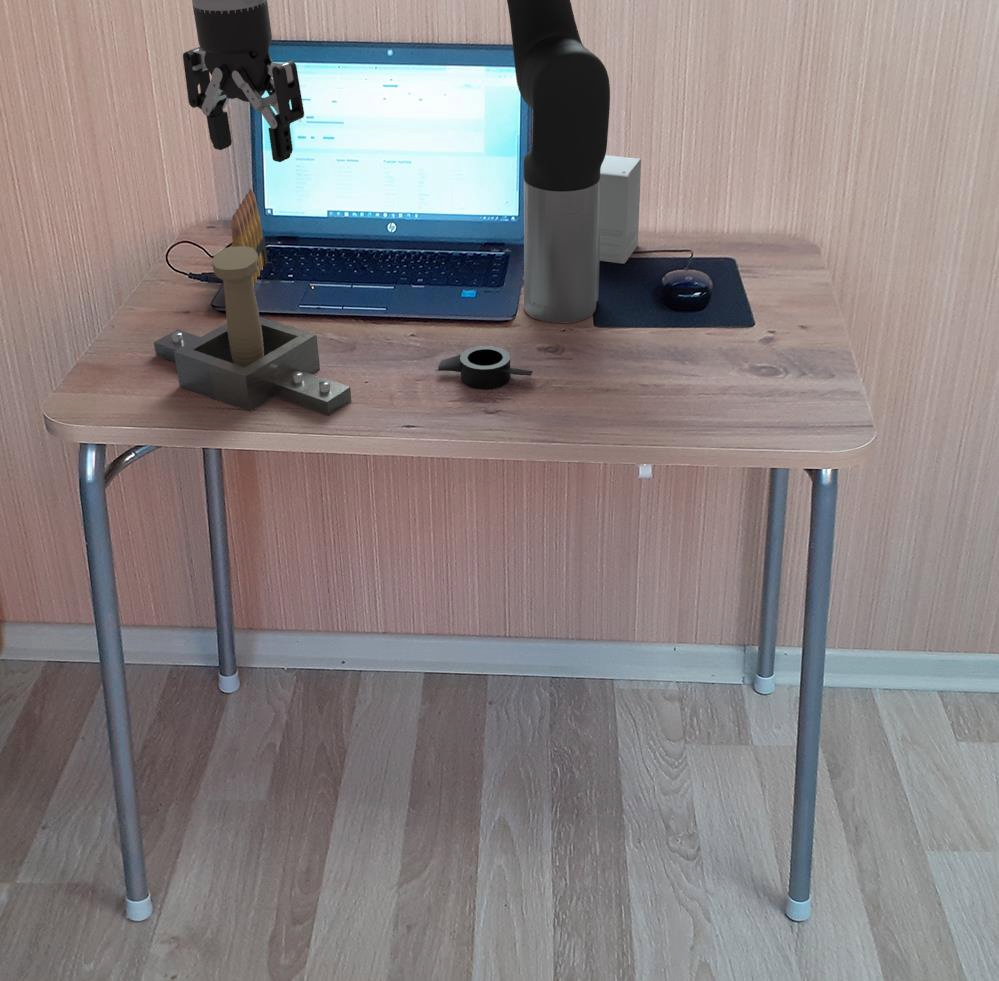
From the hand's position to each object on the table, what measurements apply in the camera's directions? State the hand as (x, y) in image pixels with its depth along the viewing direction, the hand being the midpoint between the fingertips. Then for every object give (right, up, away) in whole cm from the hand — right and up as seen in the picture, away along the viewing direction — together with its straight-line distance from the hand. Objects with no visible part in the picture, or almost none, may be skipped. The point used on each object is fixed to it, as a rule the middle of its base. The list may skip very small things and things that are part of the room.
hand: (252, 153), depth 141 cm
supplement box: (+42, -3, +40) cm, 58 cm away
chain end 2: (+3, -25, +8) cm, 27 cm away
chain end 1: (-8, -21, +14) cm, 27 cm away
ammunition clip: (-6, -10, +32) cm, 34 cm away
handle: (-2, -24, +11) cm, 26 cm away
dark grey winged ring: (+25, -24, +11) cm, 36 cm away
